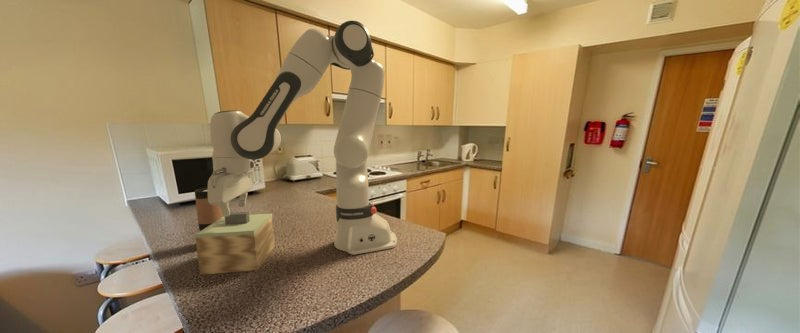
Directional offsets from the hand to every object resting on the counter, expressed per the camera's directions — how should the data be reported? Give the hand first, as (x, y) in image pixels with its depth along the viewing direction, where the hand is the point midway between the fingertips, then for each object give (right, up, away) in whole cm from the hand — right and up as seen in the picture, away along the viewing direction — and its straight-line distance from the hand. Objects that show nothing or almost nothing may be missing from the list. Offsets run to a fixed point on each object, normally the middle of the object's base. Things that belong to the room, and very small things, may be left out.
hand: (235, 210), depth 76 cm
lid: (0, -6, +1) cm, 6 cm away
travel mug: (-17, -14, +14) cm, 26 cm away
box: (0, -16, +2) cm, 16 cm away
